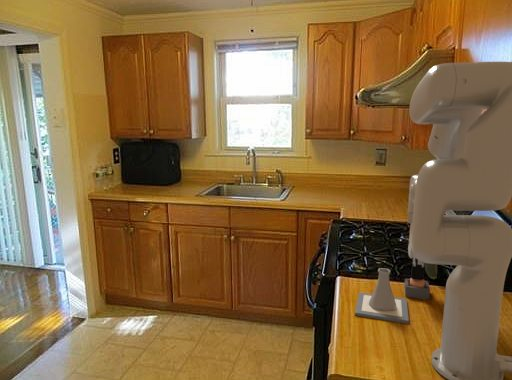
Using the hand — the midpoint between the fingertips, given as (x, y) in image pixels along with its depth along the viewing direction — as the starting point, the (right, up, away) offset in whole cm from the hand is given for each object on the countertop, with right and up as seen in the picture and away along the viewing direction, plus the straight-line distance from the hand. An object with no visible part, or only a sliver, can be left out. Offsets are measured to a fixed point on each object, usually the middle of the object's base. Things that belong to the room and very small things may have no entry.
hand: (417, 278), depth 110 cm
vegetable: (+9, -3, +12) cm, 15 cm away
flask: (-13, -5, -9) cm, 17 cm away
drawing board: (-13, -6, -9) cm, 17 cm away
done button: (0, -3, 0) cm, 3 cm away
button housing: (0, -5, 0) cm, 5 cm away
